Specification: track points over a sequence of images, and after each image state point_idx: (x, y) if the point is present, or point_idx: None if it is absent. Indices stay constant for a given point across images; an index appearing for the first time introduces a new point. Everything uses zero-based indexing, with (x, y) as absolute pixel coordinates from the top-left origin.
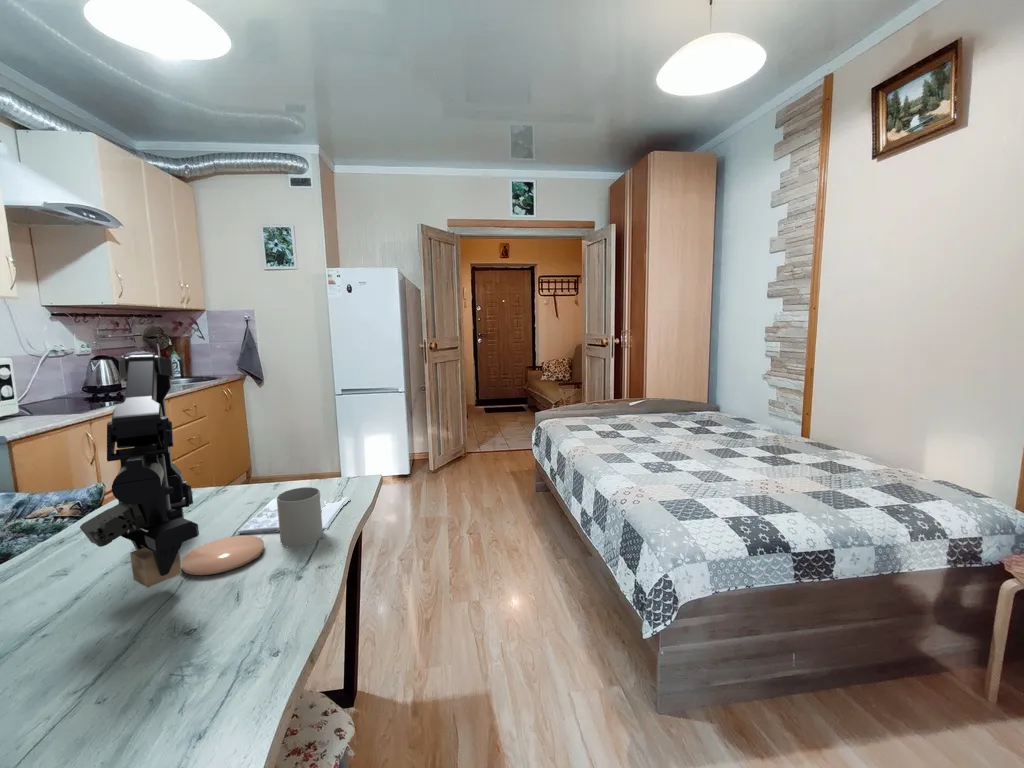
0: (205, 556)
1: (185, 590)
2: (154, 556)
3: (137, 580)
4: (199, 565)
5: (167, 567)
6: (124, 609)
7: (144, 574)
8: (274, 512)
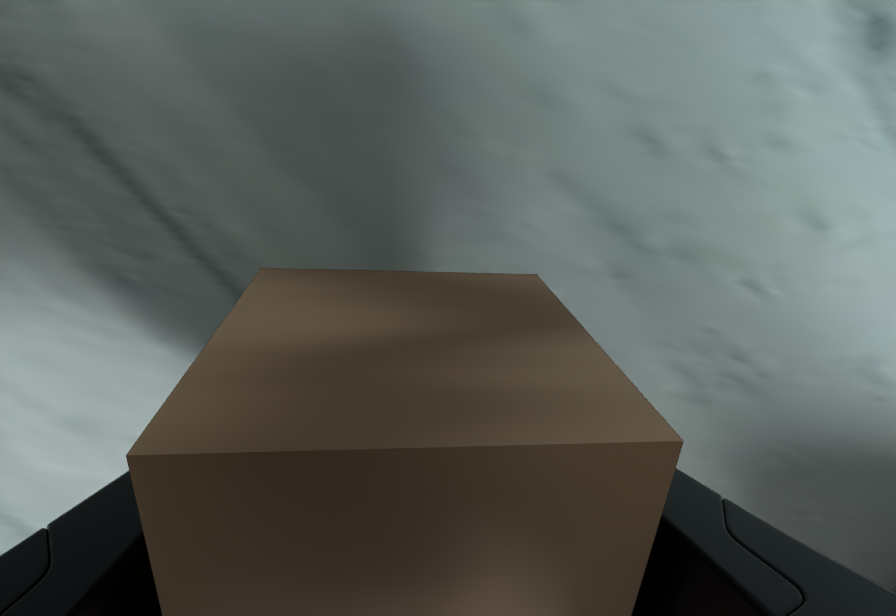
0: None
1: None
2: (54, 584)
3: (465, 278)
4: None
5: None
6: (396, 114)
7: (270, 321)
8: None
